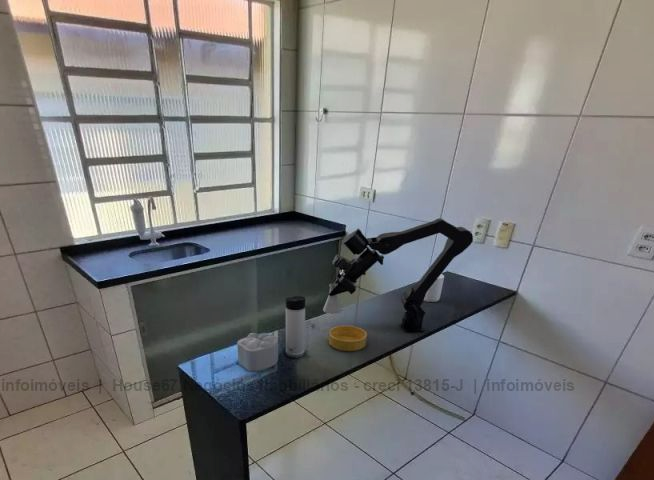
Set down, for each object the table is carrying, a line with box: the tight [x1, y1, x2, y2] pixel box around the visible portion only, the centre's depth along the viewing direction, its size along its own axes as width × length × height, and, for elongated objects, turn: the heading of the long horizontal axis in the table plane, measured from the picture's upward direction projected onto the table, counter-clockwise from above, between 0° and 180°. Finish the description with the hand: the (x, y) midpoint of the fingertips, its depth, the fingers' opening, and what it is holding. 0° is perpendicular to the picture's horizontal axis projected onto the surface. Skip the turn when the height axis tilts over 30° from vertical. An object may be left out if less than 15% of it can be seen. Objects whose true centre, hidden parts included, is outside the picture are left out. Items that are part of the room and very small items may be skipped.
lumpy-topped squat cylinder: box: [236, 332, 279, 372], centre depth 131 cm, size 10×13×9 cm
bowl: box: [328, 325, 368, 352], centre depth 142 cm, size 13×13×4 cm
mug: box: [422, 272, 445, 303], centre depth 179 cm, size 9×12×11 cm
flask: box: [322, 283, 343, 315], centre depth 150 cm, size 7×7×10 cm
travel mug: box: [285, 295, 306, 359], centre depth 132 cm, size 6×7×20 cm
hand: (329, 293), depth 149 cm, fingers closed on flask, 3 cm apart
